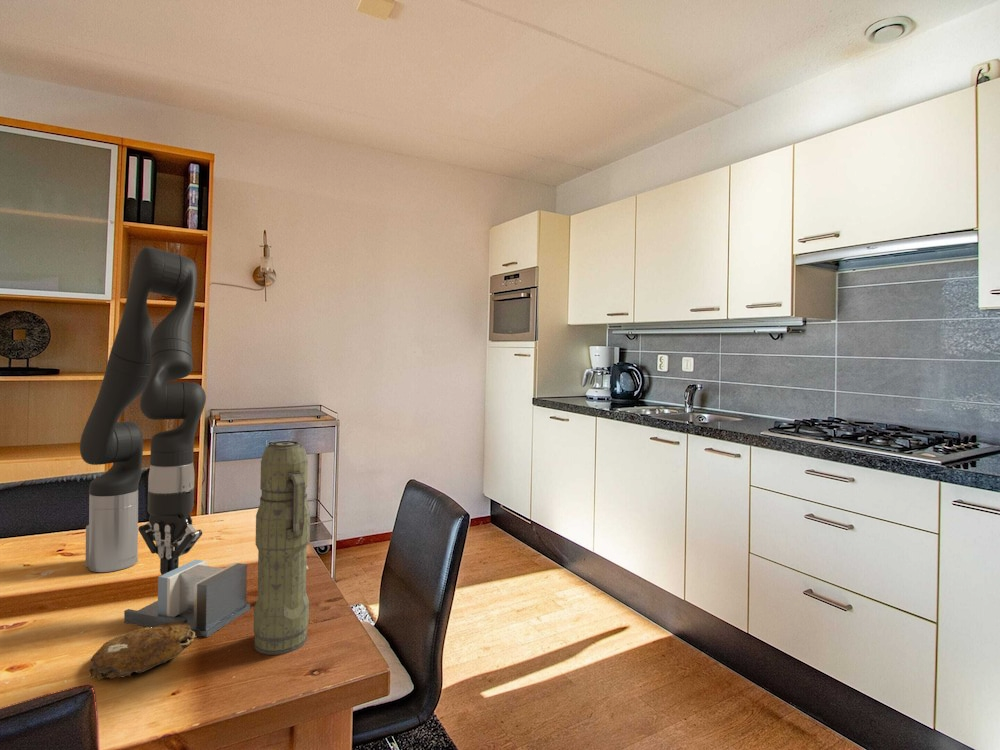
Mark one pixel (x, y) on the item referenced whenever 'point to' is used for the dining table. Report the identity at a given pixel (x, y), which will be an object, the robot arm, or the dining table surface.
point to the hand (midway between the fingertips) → (169, 576)
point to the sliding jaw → (172, 589)
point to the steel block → (192, 587)
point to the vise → (204, 603)
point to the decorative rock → (141, 650)
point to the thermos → (282, 550)
